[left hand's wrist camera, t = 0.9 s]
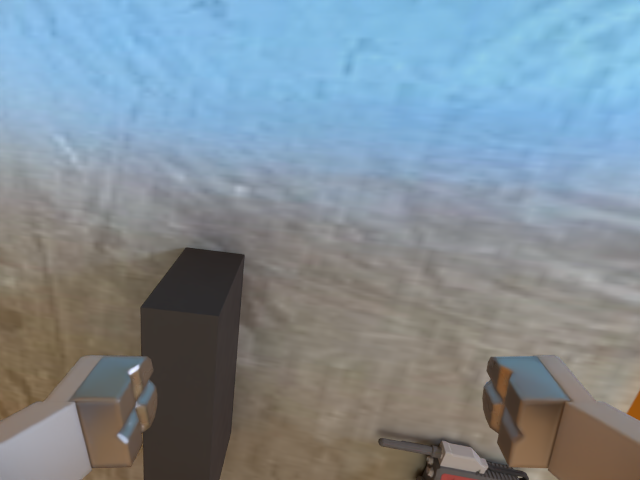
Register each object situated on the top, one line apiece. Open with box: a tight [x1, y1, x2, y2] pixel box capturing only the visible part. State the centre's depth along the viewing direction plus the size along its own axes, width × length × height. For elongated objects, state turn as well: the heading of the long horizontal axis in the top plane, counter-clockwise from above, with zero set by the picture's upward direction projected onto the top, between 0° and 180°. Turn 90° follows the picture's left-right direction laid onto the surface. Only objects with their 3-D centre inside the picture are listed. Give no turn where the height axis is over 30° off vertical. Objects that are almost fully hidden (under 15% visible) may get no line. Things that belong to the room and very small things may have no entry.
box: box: [141, 248, 244, 480], centre depth 44 cm, size 24×6×12 cm, turn 172°
